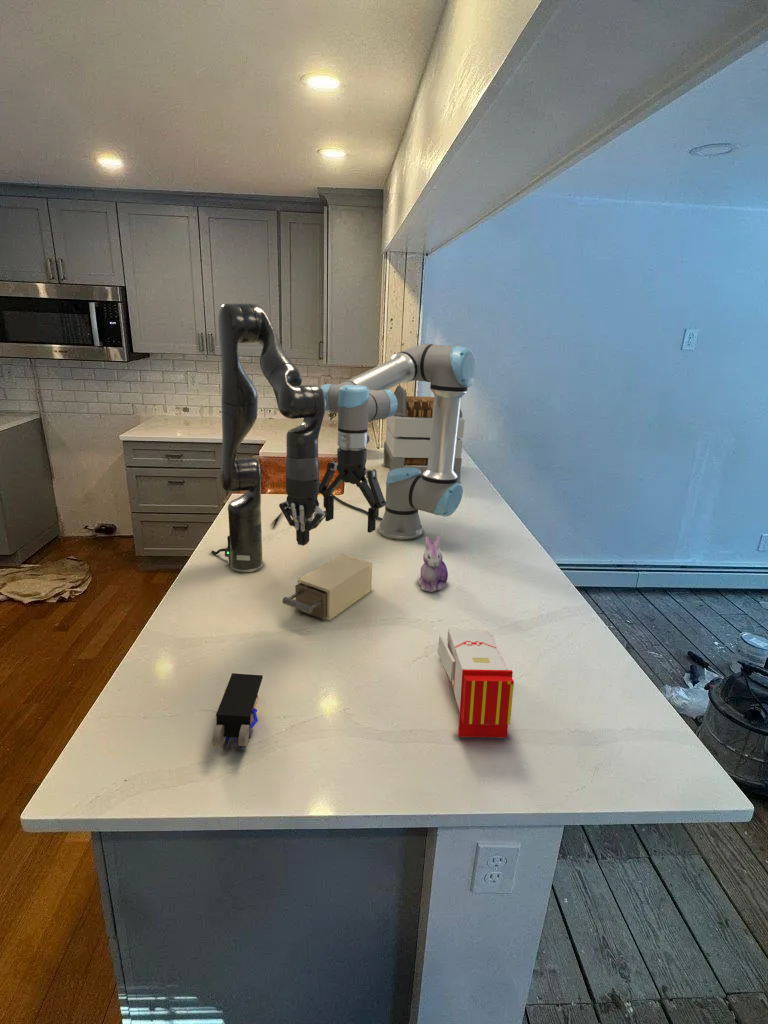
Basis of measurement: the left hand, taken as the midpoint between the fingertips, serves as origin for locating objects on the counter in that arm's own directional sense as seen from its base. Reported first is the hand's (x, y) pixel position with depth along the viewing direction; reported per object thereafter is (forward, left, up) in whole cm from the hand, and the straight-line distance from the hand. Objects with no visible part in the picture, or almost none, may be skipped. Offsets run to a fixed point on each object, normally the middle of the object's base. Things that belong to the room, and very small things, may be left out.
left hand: (302, 544), depth 135 cm
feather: (-56, +52, -21) cm, 79 cm away
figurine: (+17, +37, -21) cm, 46 cm away
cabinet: (0, +14, -21) cm, 25 cm away
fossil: (-91, +150, -21) cm, 177 cm away
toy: (+46, -1, -21) cm, 51 cm away
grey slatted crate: (-45, +138, -21) cm, 147 cm away
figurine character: (+16, -36, -21) cm, 45 cm away
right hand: (-1, +20, -1) cm, 20 cm away
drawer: (0, +9, -20) cm, 22 cm away
